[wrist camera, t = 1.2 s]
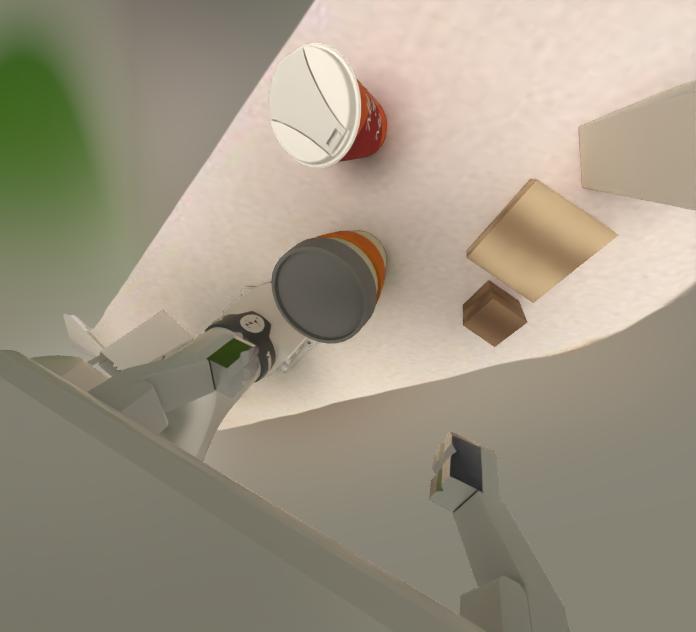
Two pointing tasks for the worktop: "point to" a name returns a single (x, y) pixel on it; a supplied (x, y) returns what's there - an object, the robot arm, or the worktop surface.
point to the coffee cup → (323, 109)
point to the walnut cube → (493, 314)
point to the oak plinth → (538, 241)
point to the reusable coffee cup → (330, 284)
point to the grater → (144, 344)
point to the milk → (645, 149)
